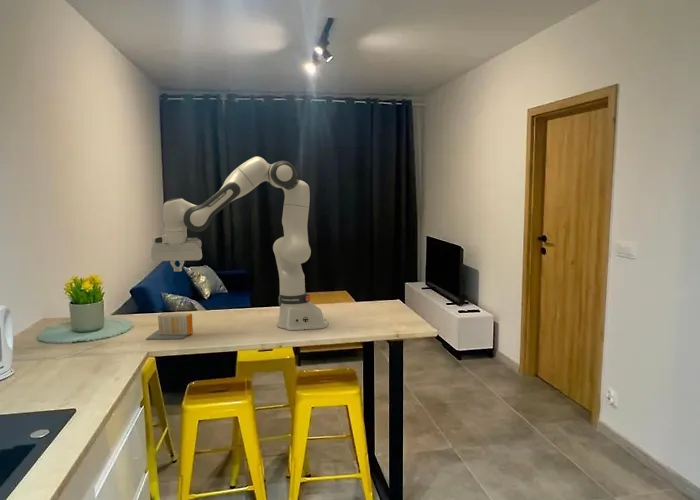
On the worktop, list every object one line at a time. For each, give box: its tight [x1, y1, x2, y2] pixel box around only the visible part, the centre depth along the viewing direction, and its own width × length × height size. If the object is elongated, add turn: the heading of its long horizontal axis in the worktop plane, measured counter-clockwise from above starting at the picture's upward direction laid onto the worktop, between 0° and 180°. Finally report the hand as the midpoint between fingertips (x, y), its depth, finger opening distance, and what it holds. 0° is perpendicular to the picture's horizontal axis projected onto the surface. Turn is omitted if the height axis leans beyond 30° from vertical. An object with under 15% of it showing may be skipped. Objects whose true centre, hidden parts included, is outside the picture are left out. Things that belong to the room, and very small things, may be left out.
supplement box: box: [157, 312, 194, 336], centre depth 216 cm, size 8×5×13 cm
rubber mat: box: [145, 329, 188, 341], centre depth 216 cm, size 15×13×1 cm
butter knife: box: [54, 349, 86, 360], centre depth 197 cm, size 1×24×3 cm
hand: (177, 271), depth 213 cm, fingers closed
